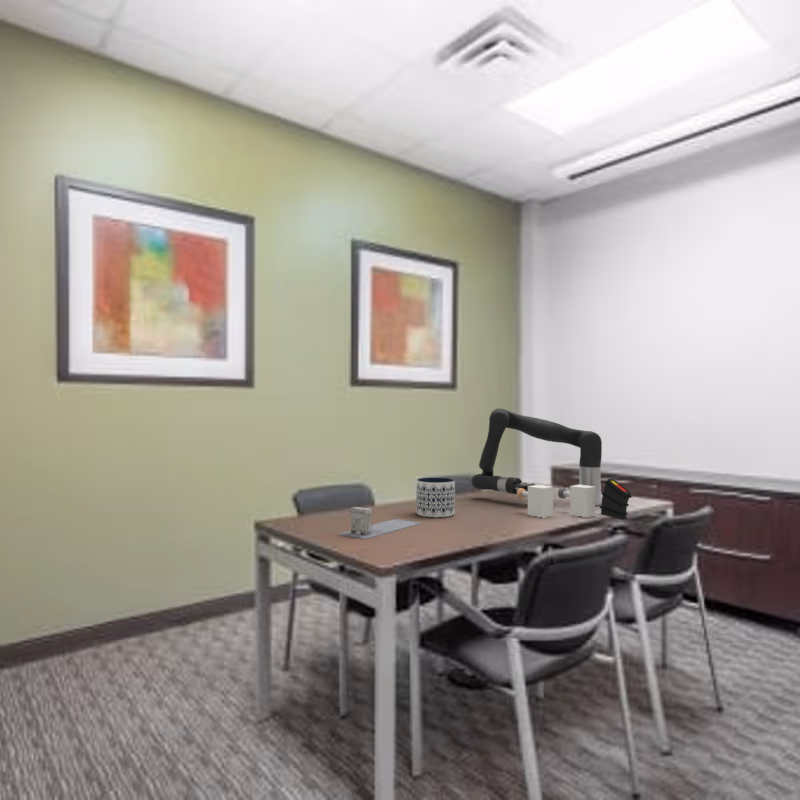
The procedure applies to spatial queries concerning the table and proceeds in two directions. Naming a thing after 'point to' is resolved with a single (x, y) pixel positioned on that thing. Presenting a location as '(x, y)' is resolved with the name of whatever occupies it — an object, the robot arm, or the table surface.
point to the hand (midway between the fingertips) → (541, 489)
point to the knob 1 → (522, 493)
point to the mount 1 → (540, 500)
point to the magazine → (614, 499)
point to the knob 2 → (563, 493)
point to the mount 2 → (582, 500)
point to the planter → (435, 497)
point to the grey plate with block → (364, 528)
